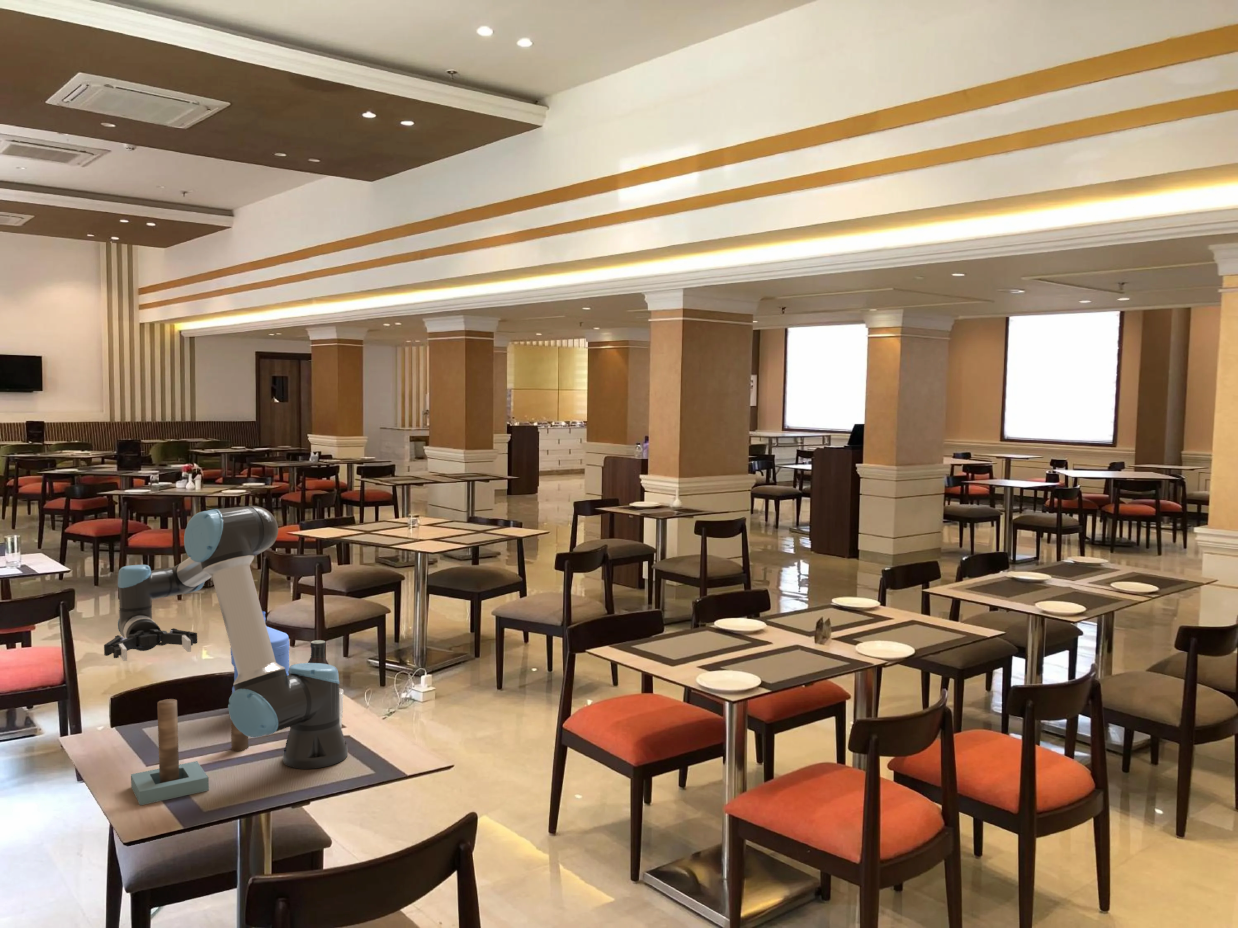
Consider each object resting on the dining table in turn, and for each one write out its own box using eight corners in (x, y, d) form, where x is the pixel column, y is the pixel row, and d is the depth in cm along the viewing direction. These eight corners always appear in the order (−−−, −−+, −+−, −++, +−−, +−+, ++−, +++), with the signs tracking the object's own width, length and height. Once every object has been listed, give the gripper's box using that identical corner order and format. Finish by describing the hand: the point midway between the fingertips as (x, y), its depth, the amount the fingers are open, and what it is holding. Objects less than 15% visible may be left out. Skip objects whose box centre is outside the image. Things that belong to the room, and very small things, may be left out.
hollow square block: (131, 786, 217) (130, 773, 216) (197, 773, 225) (197, 760, 224) (140, 805, 207) (139, 791, 207) (208, 790, 215) (208, 777, 215)
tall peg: (183, 786, 217) (180, 700, 215) (168, 793, 213) (165, 705, 212) (171, 783, 218) (168, 698, 217) (155, 790, 215) (153, 703, 213)
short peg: (251, 746, 242) (251, 711, 241) (239, 751, 238) (238, 716, 238) (240, 744, 244) (239, 709, 243) (227, 749, 240) (226, 714, 240)
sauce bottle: (304, 715, 266) (303, 645, 265) (305, 708, 272) (304, 639, 271) (329, 713, 268) (328, 643, 267) (329, 706, 274) (328, 638, 273)
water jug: (279, 697, 282) (277, 604, 280) (299, 710, 270) (297, 613, 268) (224, 708, 272) (222, 611, 271) (242, 722, 260) (240, 621, 258)
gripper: (196, 640, 247) (215, 657, 229) (86, 655, 232) (97, 675, 215) (195, 611, 246) (214, 627, 229) (85, 625, 232) (96, 642, 214)
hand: (157, 650), depth 222 cm, fingers open, 13 cm apart
